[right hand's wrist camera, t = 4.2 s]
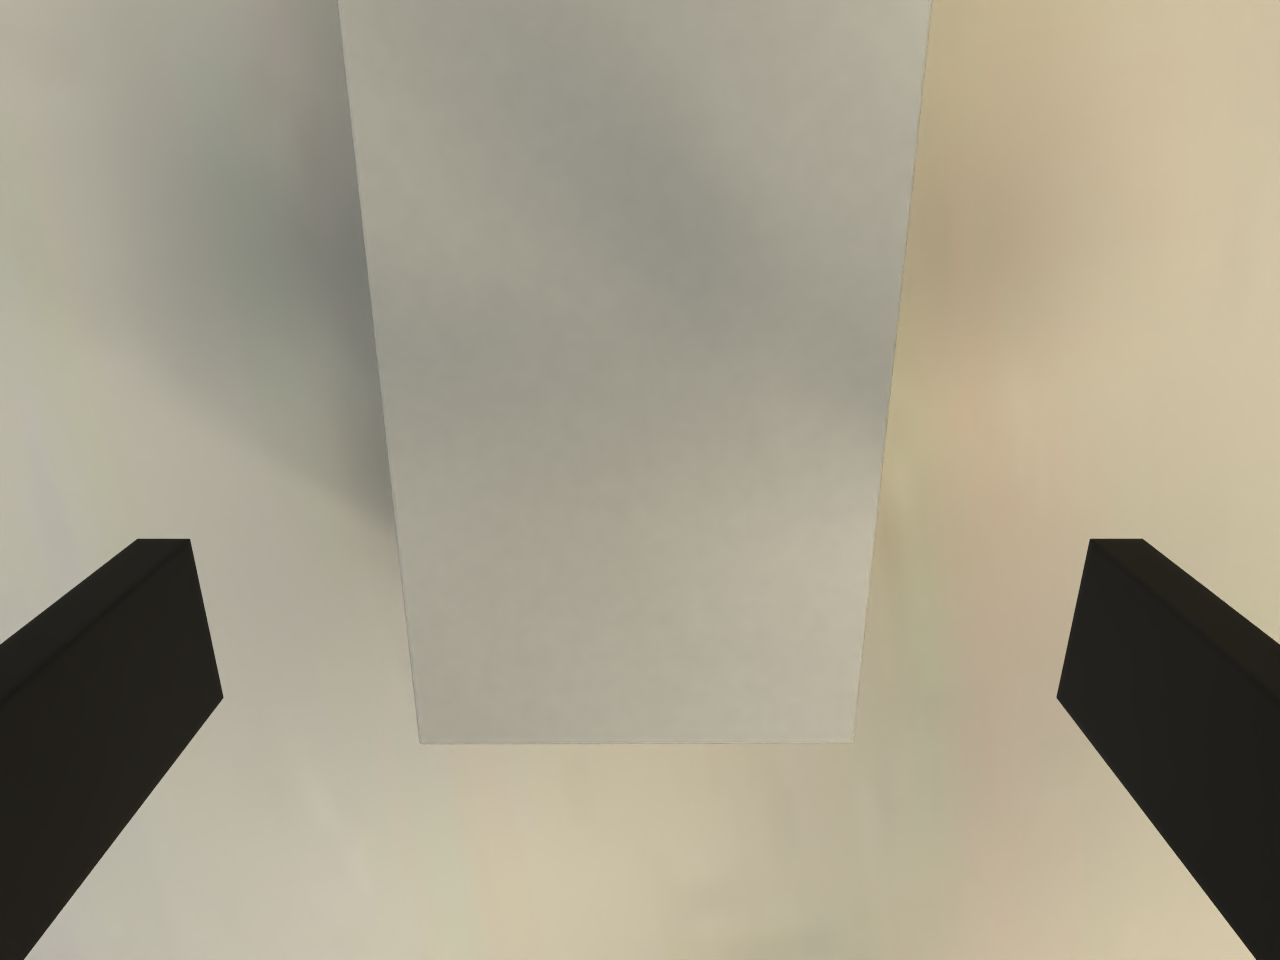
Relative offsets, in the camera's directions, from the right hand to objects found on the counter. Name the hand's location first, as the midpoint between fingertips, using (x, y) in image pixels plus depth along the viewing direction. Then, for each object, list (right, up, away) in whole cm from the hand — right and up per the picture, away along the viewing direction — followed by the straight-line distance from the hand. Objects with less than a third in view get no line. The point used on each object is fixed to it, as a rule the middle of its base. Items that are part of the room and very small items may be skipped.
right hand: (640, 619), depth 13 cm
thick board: (0, +30, +1) cm, 30 cm away
